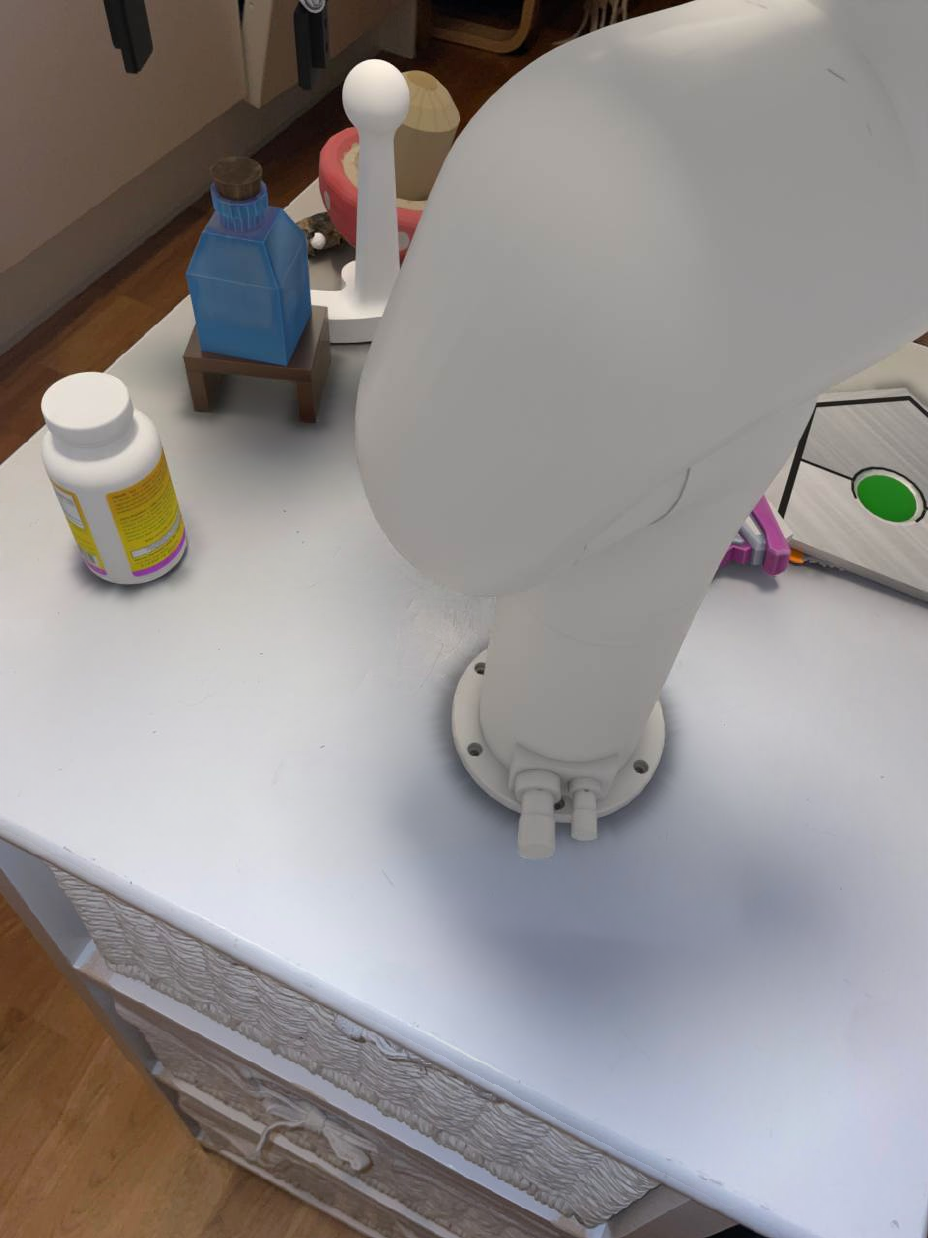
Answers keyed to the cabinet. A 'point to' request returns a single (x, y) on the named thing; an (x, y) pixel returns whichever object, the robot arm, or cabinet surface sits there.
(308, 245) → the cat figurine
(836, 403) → the security device
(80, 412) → the supplement bottle
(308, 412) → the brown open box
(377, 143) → the joystick
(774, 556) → the toy gun
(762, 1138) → the cabinet surface
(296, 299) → the perfume bottle
